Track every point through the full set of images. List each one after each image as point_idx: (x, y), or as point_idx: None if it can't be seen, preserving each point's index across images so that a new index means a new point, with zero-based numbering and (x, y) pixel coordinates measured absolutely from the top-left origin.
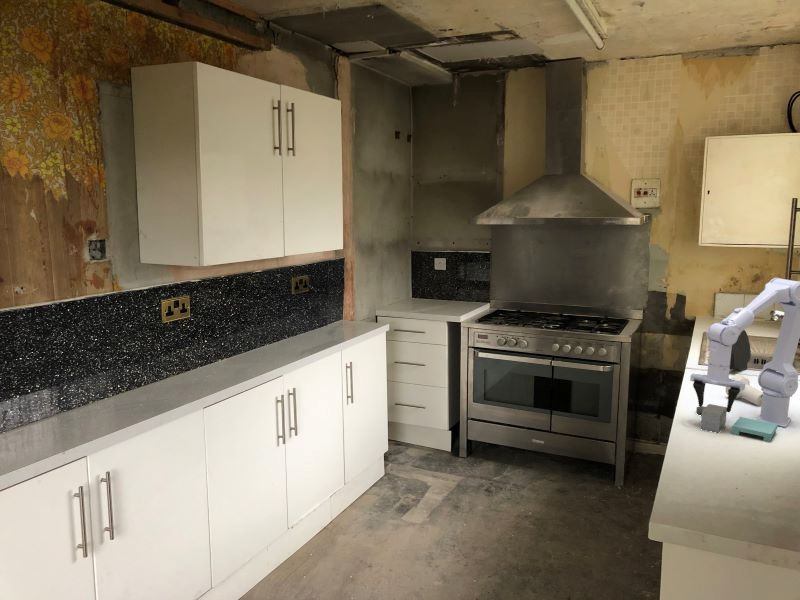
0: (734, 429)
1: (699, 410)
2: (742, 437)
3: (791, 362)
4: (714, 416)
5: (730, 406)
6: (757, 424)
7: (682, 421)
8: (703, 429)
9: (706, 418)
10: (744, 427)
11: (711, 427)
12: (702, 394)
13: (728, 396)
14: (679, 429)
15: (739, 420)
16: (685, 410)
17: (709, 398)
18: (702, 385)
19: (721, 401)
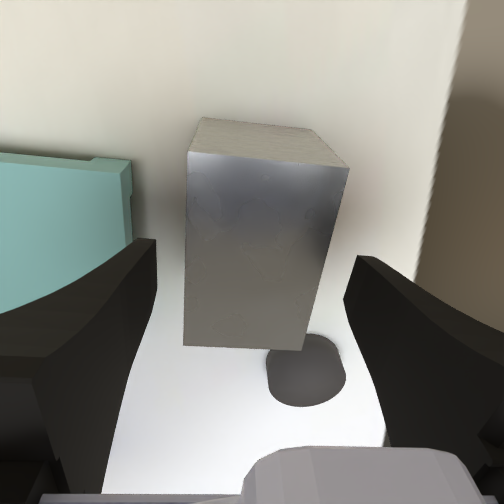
0: (110, 164)
1: (331, 357)
2: (63, 130)
3: None
4: (238, 148)
5: (107, 260)
6: (11, 285)
7: (408, 214)
8: (294, 128)
9: (295, 147)
10: (44, 185)
11: (249, 128)
12: (391, 353)
13: (88, 315)
14: (443, 42)
15: None
16: None
17: None
18: (474, 434)
19: None
